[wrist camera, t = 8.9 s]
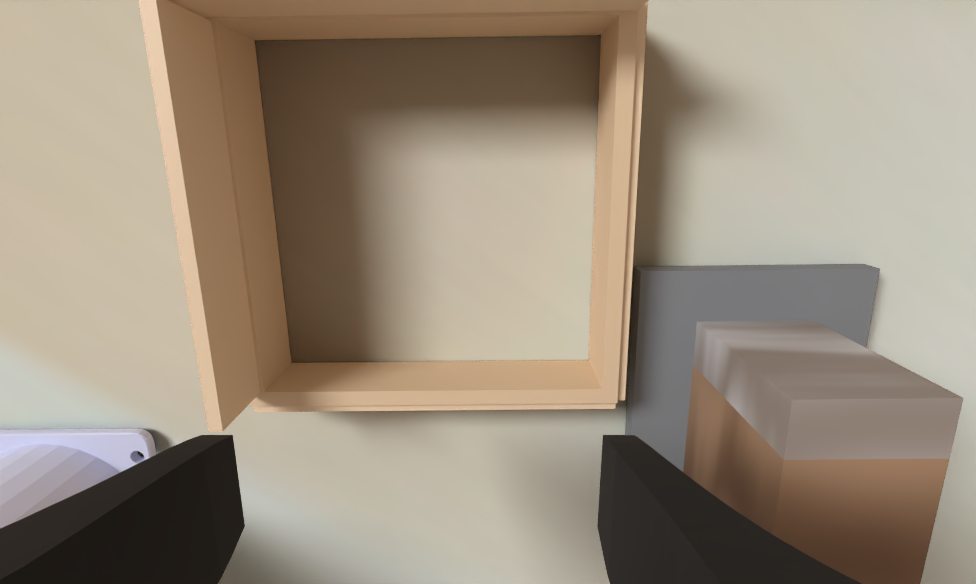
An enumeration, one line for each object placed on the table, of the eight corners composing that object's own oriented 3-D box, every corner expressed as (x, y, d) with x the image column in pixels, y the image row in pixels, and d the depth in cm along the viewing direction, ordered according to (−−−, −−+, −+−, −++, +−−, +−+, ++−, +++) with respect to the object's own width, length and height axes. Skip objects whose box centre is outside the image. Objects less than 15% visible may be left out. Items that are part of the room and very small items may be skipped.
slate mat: (814, 552, 22) (826, 567, 21) (618, 554, 22) (623, 568, 21) (863, 264, 19) (879, 268, 18) (634, 266, 19) (641, 271, 18)
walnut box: (783, 519, 20) (900, 666, 14) (678, 520, 20) (753, 667, 15) (813, 320, 18) (963, 397, 12) (696, 321, 18) (792, 399, 13)
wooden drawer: (609, 379, 20) (648, 453, 15) (280, 383, 20) (212, 457, 15) (627, 16, 17) (683, -39, 12) (237, 23, 17) (133, -30, 12)
